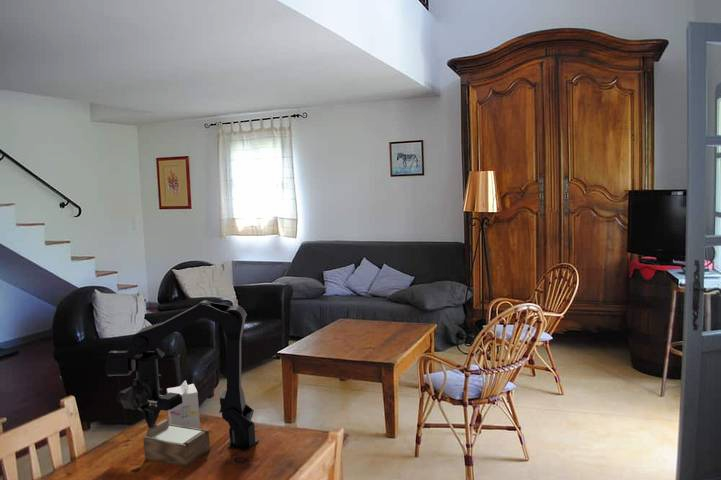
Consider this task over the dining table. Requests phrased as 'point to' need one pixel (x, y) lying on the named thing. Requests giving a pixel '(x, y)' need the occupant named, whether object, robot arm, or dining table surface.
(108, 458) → the dining table surface
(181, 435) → the lid
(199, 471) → the dining table surface
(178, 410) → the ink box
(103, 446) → the dining table surface
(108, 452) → the dining table surface
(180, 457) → the walnut box
